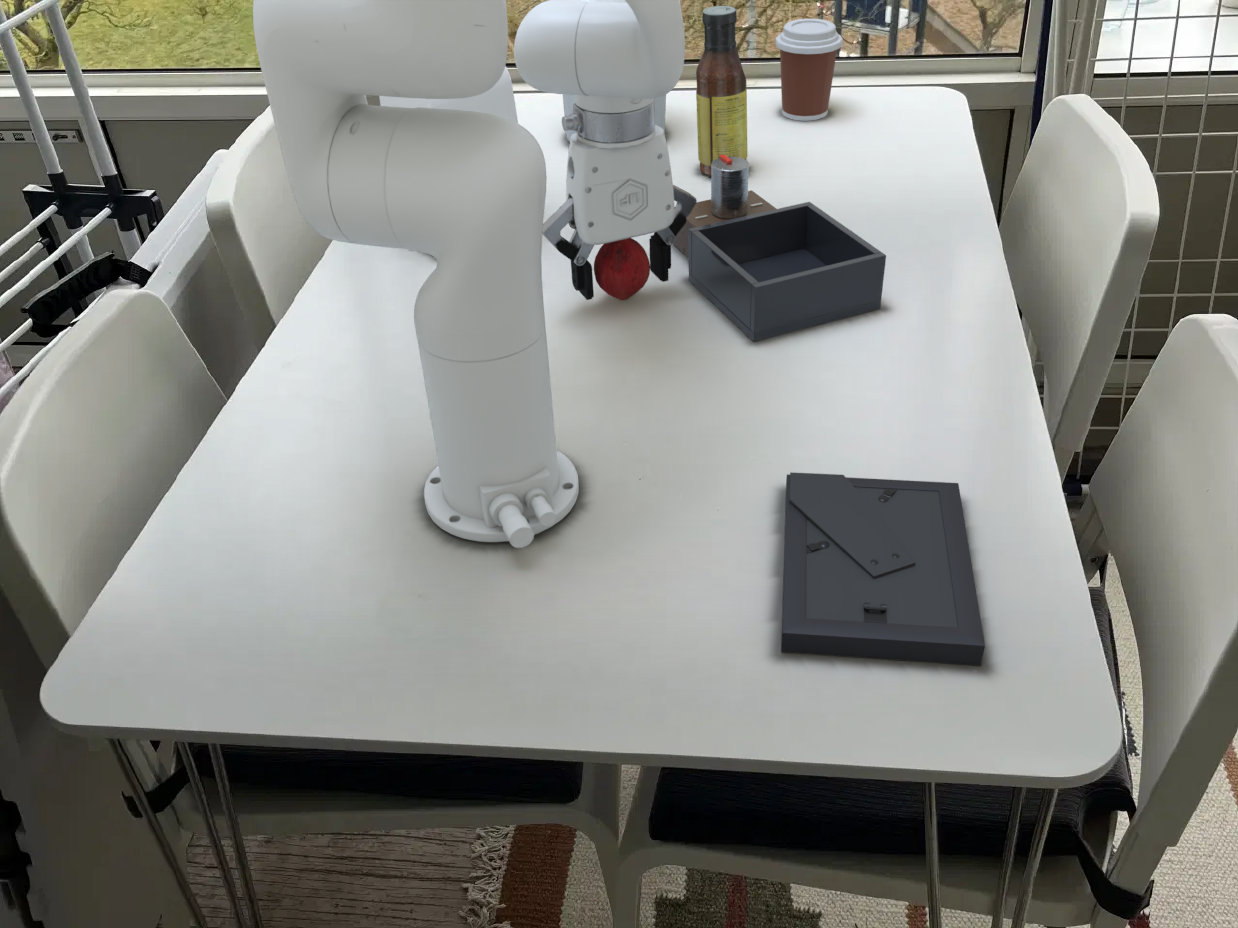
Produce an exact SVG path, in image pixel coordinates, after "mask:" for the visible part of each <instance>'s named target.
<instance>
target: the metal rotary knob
mask: <svg viewBox="0 0 1238 928" xmlns="http://www.w3.org/2000/svg"><path fill="white" fill-rule="evenodd" d="M749 169H750V163H749V161H748V160H747V159H746V160H745V159H743V158H739V157H727V156H726V155H724V154H723V155H720V158H718V159H716V160H714V161H713V162H712V164H711V176H710V199H711V213H712V214H713V215H714V216H716V217H719V218H725V219H733V218H739V217H742V216H744V215H745V214H746V213H747V209H748V191H749V173H750V172H749Z"/></svg>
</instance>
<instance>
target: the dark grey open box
mask: <svg viewBox="0 0 1238 928" xmlns="http://www.w3.org/2000/svg"><path fill="white" fill-rule="evenodd" d="M688 256H689V258H688V281H689V282H690V283H691V284H692V285H693V286H694V287H695V288H696V289H697V290H698V291H699V292H700V293H702V295H704V296H705V297H706V299H708V300H709V302H711V303H712V304H713V305H714V306H715V307H716V308H717V309H718V310H719V311H720V312H721V313H722V314H723V315H725V316H726V318H727V319H729V320H730V321H731V322H732V323H733V324H734V325H735V326H736V327H737V328H738V329H739V330H740V331H742V332H743V333H744V334H745V335H746V336H747V337H748V338H749V339H750V340H751V341H752V342H753V343H756V342H759V341H762V340H767V339H771V338H774V337H778V336H782V335H785V334H790V333H793V332H796V331H801V330H804V329H809V328H812V327H816V326H820V325H823V324H827V323H831V322H835V321H839V320H842V319H846V318H850V317H854V316H857V315H862V314H865V313H870V312H872V311H876V310H880V309H881V304H882V297H883V289H884V280H885V279H884V277H885V270H886V269H885V268H886V261H887V260H886V259H887V255H886V254H885V253H884V252H882V251H881V250H879V249H878V248H876V247H875V246H873V244H871V243H869V242H868V241H867V240H865V239H864V238H862V237H861V236H860V235H858V234H856V233H855V232H853V231H852V230H850V229H849V228H848V227H846V226H845V225H844V224H842V223H841V222H839V221H838V220H837V219H836V218H833V217H832V216H831V215H829V214H827V213H826V212H825V211H824V210H822V209H821V208H819V207H818V206H816V205H815V204H813V203H812V202H811V201H806V202H802V203H797V204H794V205H787V206H784V207H780V208H776V209H775V210H770V211H766V212H762V213H757V214H753V215H748V216H744V217H739V218H735V219H731V220H726V221H722V222H717V223H713V224H708V225H704V226H700V227H695V228H691V229H688Z"/></svg>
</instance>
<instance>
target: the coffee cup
mask: <svg viewBox="0 0 1238 928" xmlns="http://www.w3.org/2000/svg"><path fill="white" fill-rule="evenodd" d="M774 42H775V43H774V44H775V47H776V48H777V49H779V58H780V59H779V60H780V61H779V62H780V88H781V115H782V116H783V117H785V118H787V119H791V120H794V121H803V122H806V121H816V120H820V119H823V118H825V117H827V115H828V113H829V105H830V99H831V98H830V97H831V92H832V86H833V78H834V72H835V66H836V59H837V53H838V50H839V49H840V48H841V47H842V46H843V44H844V39H843V37H842V36H841V34H839V33H838V32H837V26H836V25H835V24H834V22H832V21H829V20H827V19H822V18H800V19H794V20H791V21H788V22H785V24H784V25H783V30H782V32H781V33H778V35H777V36H776V37H775V41H774Z"/></svg>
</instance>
